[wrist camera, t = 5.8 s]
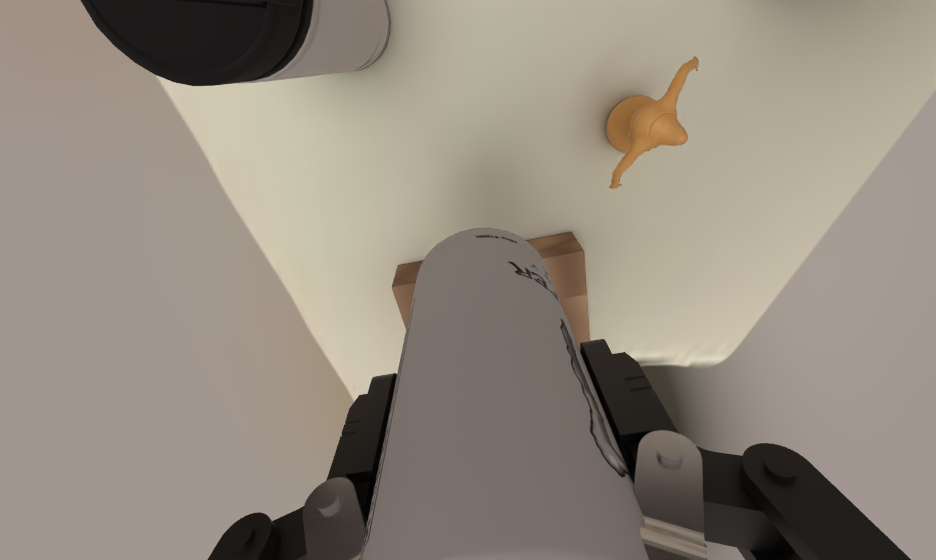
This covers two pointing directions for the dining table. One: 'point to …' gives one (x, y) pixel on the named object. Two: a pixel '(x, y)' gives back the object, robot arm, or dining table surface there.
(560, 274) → the wooden square frame
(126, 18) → the travel mug
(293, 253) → the dining table surface
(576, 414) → the energy drink can
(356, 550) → the robot arm
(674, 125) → the figurine
